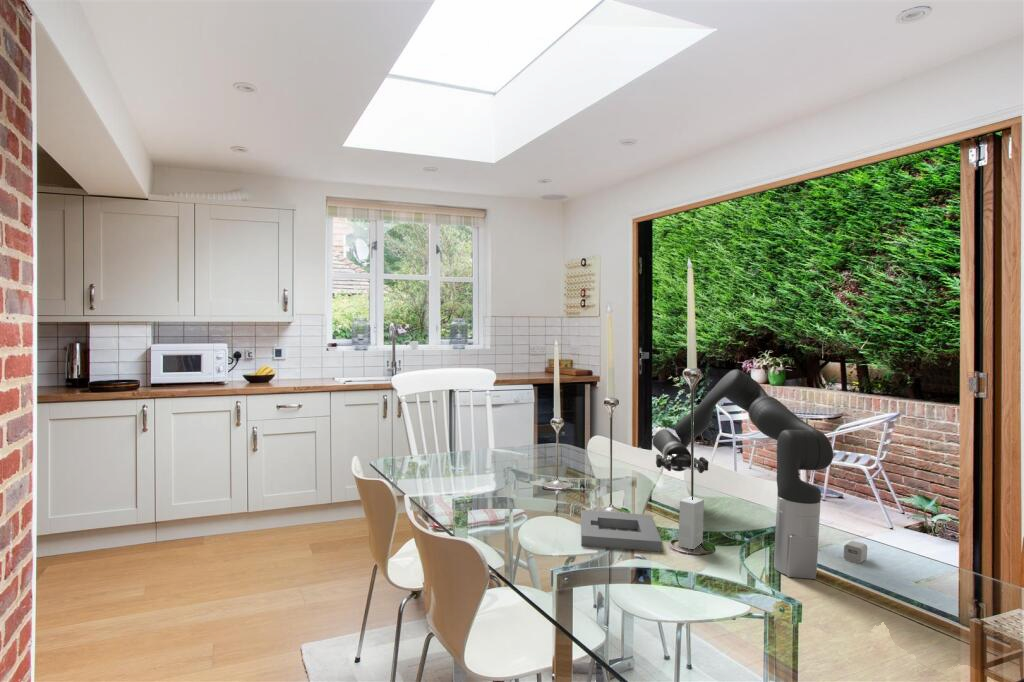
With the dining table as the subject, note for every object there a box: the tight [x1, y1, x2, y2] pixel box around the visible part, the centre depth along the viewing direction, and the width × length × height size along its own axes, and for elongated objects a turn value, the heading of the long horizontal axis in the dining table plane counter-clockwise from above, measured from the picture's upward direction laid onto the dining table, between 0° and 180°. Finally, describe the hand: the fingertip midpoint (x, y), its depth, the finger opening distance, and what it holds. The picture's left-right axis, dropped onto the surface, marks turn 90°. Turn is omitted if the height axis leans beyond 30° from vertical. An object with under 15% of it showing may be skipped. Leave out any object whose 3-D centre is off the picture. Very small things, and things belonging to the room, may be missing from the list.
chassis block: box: [580, 509, 663, 553], centre depth 166 cm, size 22×20×2 cm
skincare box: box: [677, 495, 705, 550], centre depth 159 cm, size 6×4×12 cm
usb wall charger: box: [843, 540, 868, 565], centre depth 155 cm, size 4×7×4 cm, turn 134°
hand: (685, 468), depth 170 cm, fingers open, 8 cm apart
